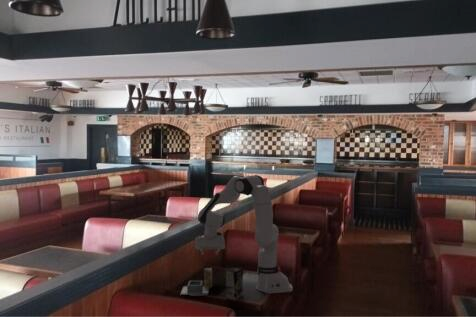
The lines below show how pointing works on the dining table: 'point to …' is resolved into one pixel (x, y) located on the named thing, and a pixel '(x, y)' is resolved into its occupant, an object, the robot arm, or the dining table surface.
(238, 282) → the coffee box
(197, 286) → the socket plate
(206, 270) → the beech pin
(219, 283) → the dining table surface
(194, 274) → the dining table surface
